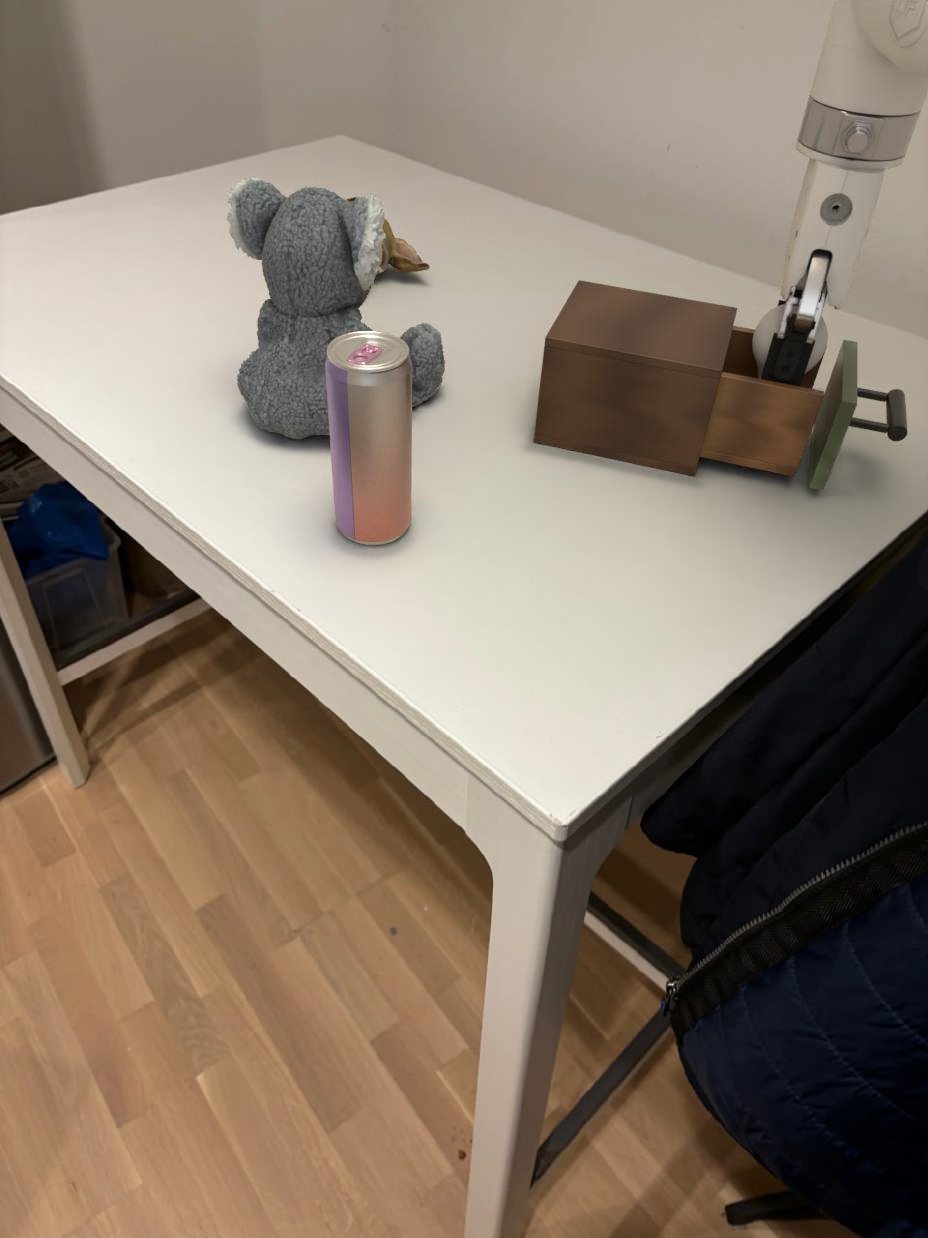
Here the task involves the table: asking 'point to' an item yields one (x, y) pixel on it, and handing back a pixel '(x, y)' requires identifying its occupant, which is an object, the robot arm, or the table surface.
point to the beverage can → (370, 434)
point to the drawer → (790, 414)
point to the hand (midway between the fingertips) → (783, 363)
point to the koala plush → (312, 299)
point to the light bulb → (771, 326)
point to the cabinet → (632, 375)
